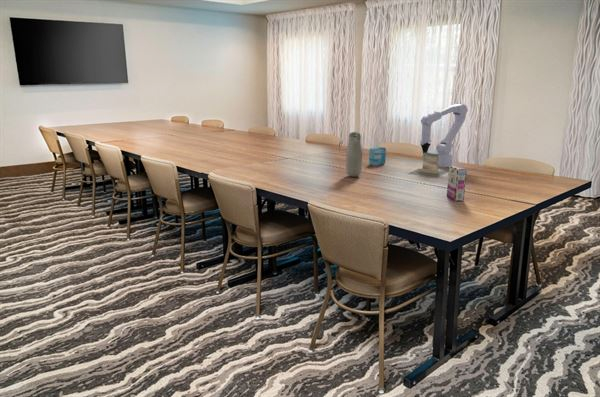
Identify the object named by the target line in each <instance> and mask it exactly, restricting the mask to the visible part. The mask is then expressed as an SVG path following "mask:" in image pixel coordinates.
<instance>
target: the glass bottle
mask: <svg viewBox="0 0 600 397" xmlns="http://www.w3.org/2000/svg"><path fill="white" fill-rule="evenodd" d="M361 139H362V135H361V133H360V132H358V131H353V132H350V133H349V135H348V142H347V147H346V152H345V172H346V174H347V176H348V177H352V178H355V177H356V178H357V177H359V176H360V175H361V173H362V169H363V154H364V152H363V147H362V142H361Z"/></svg>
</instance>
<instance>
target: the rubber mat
mask: <svg viewBox="0 0 600 397" xmlns="http://www.w3.org/2000/svg"><path fill="white" fill-rule="evenodd" d="M447 173H448V171H446V170H439V169H438V170H430V169H422V168H416V169H415V170H412V171H410V172H408V173H407V174H408V175H415V176H422V177H423V176H424V177H429V178H439V177H442V176H443V175H446V174H447Z"/></svg>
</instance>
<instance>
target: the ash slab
mask: <svg viewBox="0 0 600 397" xmlns="http://www.w3.org/2000/svg"><path fill="white" fill-rule="evenodd" d="M438 162H439V154H438V152H436V153H434V152H427V153H426V152H425V153H423V152H422V168H421V169H430V170H439V167H438Z"/></svg>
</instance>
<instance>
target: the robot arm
mask: <svg viewBox="0 0 600 397" xmlns="http://www.w3.org/2000/svg"><path fill="white" fill-rule="evenodd" d="M468 111H469V110H468V106H467V105H466V104H464V103H463V104H461V103H454V104H451V105H450V106H448V107H446V108H444V109H442V110H441V111H438V110H435V111H433V113H428V114H427V115H424V116H422V117H421V119H420V123H421V139H420V140H419V142H420V144H419V145H420V146H421V150H422V154H423V153H425V152H426V153H429V152H428V151H429V148H430V146H431V142H432V139H431V132H432V125H433V124H434V123H435V122H437V121H439V120H441V119H442V117H443V116H446V115H448V114H451V113H452V114H453V115H454V116H455V120H454V122H453V124H452V125H451V127H450V129H449V131H448V132H447V134H446V135H445V137H444V138H443V139H441V141H440V142H439V143H438V144H436V151H437V153H438V154H439V162H438V168H449V166H453V154H452V153H451V152H452V149H453V142H454V140H455V138H456V136H457V134H458V133H459V131H460V129H461V128H462V126H463V125H464V122H465V121H466V116H467V112H468Z"/></svg>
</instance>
